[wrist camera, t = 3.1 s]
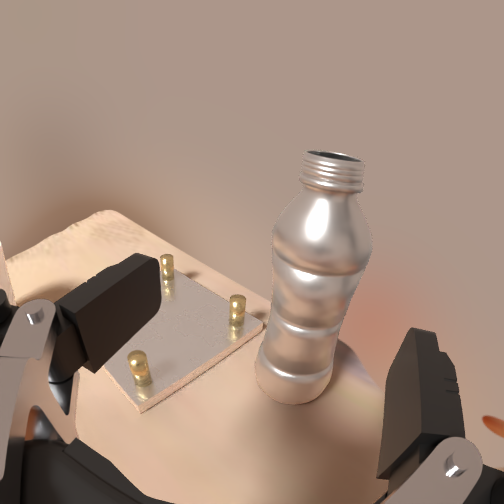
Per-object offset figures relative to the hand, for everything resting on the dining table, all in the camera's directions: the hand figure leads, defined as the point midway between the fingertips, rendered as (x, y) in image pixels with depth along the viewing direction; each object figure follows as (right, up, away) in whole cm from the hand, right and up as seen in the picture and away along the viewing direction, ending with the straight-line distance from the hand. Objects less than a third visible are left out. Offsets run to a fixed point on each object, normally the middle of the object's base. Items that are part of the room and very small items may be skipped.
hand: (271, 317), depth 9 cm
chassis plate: (-11, -6, +23) cm, 26 cm away
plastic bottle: (+3, -10, +17) cm, 20 cm away
